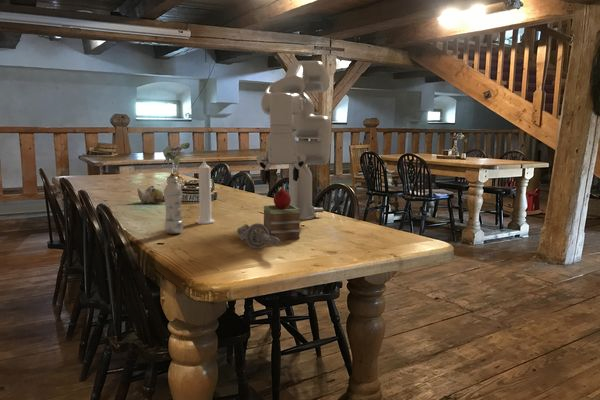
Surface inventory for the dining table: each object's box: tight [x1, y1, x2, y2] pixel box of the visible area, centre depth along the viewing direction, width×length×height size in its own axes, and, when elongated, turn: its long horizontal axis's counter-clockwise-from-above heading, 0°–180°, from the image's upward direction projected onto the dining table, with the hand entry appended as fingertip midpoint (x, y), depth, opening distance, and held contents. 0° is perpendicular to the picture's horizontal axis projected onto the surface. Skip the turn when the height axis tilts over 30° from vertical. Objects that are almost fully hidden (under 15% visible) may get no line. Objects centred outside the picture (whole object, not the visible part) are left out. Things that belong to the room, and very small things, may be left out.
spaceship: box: [237, 222, 282, 250], centre depth 155 cm, size 8×35×8 cm
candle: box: [196, 158, 216, 225], centre depth 193 cm, size 7×7×25 cm
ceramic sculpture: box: [137, 185, 165, 204], centre depth 241 cm, size 11×9×15 cm
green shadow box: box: [263, 204, 301, 241], centre depth 170 cm, size 10×11×10 cm
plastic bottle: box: [162, 176, 184, 235], centre depth 174 cm, size 6×7×20 cm
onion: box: [273, 186, 291, 210], centre depth 170 cm, size 6×6×8 cm
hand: (281, 181), depth 169 cm, fingers open, 9 cm apart
